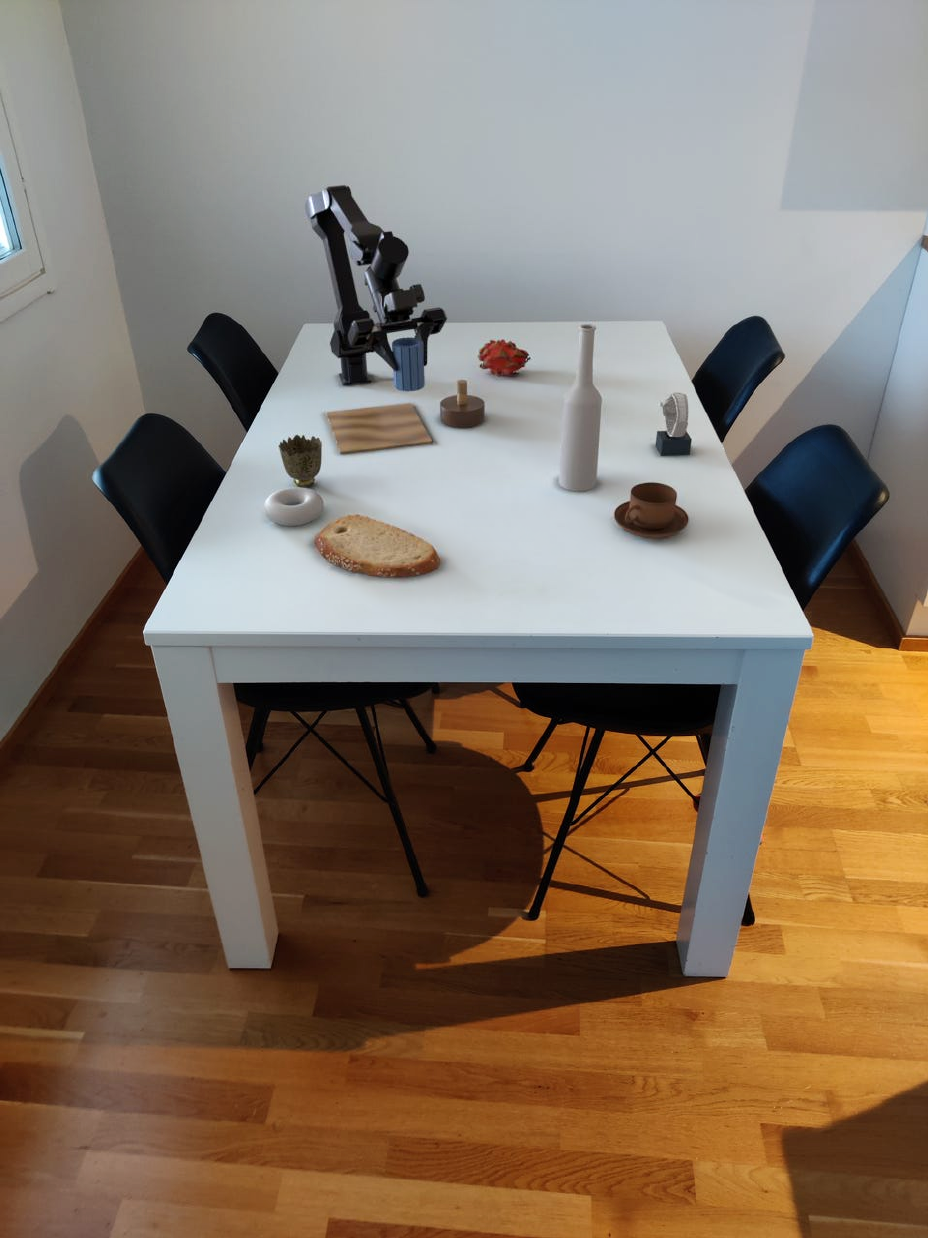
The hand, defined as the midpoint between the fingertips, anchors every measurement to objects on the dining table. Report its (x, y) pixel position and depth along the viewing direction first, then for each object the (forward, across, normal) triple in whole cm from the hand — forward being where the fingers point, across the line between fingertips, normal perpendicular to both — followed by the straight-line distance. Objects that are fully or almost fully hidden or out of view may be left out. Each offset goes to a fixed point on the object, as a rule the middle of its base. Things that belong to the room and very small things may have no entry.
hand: (411, 367), depth 179 cm
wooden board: (+5, -5, +14) cm, 16 cm away
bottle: (+33, +17, -14) cm, 40 cm away
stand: (+8, +12, +11) cm, 18 cm away
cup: (+18, -26, +2) cm, 32 cm away
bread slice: (+37, -24, -18) cm, 48 cm away
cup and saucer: (+46, +20, -27) cm, 57 cm away
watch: (+31, +40, -11) cm, 52 cm away
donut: (+25, -31, -6) cm, 40 cm away
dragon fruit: (-5, +31, +25) cm, 40 cm away
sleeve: (+2, 0, +4) cm, 4 cm away
